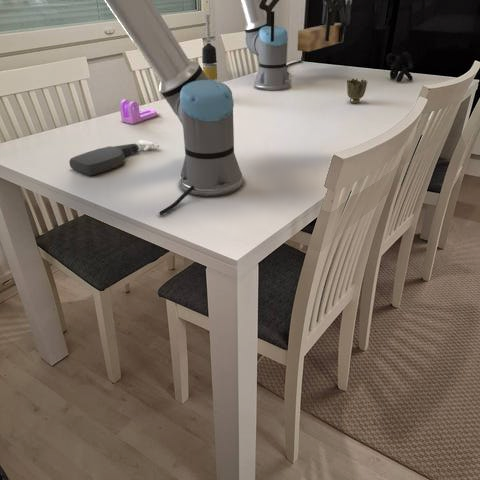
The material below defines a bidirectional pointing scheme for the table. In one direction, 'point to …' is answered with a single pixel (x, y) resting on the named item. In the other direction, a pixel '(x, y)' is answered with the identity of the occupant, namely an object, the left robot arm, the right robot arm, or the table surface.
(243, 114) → the table surface
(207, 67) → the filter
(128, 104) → the bracket
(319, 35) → the bar
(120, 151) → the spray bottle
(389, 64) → the squiggle
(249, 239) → the table surface
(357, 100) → the cup
